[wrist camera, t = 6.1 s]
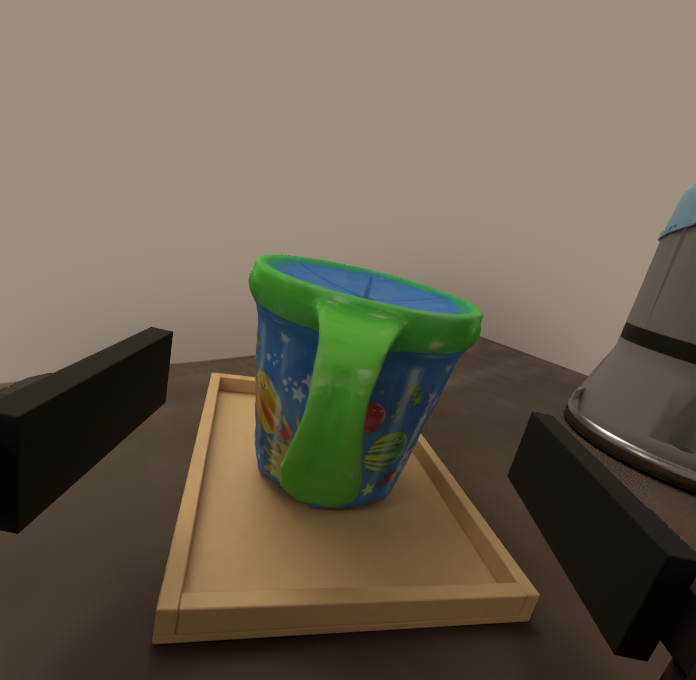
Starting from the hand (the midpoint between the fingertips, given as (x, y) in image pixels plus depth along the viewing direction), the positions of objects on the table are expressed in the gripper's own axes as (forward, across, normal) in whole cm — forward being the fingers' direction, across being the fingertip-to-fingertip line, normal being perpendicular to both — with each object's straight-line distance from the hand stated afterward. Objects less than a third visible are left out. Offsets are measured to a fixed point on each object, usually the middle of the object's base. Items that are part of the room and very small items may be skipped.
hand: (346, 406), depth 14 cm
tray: (+5, 0, -6) cm, 8 cm away
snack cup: (+5, 0, -6) cm, 8 cm away
